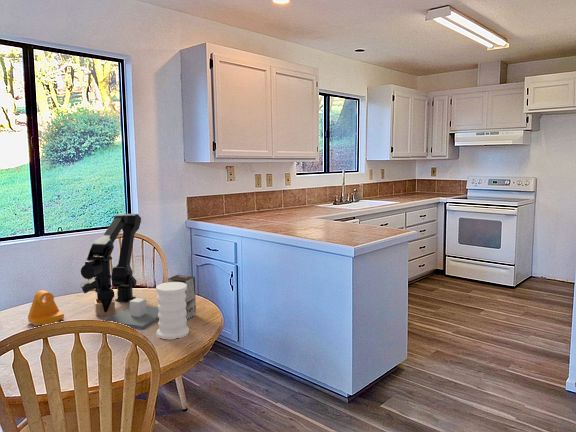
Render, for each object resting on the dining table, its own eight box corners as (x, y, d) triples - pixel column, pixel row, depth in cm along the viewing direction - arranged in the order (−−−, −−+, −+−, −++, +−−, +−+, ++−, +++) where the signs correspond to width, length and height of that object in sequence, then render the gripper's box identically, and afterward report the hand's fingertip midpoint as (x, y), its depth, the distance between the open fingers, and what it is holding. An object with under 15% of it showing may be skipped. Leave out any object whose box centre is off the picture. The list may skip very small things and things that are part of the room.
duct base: (134, 306, 192) (134, 290, 191) (171, 311, 186) (171, 294, 185) (102, 323, 173) (101, 305, 172) (142, 329, 167) (141, 310, 166)
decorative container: (163, 342, 156) (161, 292, 153) (152, 332, 165) (150, 284, 162) (194, 335, 162) (193, 287, 160) (181, 325, 172) (180, 279, 169)
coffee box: (196, 315, 182) (195, 276, 180) (186, 320, 177) (185, 280, 174) (178, 311, 186) (177, 274, 184) (168, 316, 180) (167, 278, 178)
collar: (94, 310, 187) (94, 299, 186) (113, 307, 190) (112, 296, 190) (96, 316, 181) (95, 304, 180) (115, 313, 184) (114, 301, 183)
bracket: (35, 328, 168) (33, 297, 166) (28, 323, 173) (26, 293, 171) (65, 320, 176) (63, 290, 174) (57, 315, 181) (55, 287, 179)
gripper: (79, 269, 188) (82, 305, 190) (82, 280, 171) (85, 319, 173) (108, 266, 193) (110, 301, 195) (113, 277, 176) (115, 315, 179)
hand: (104, 309), depth 185 cm, fingers closed on collar, 7 cm apart
